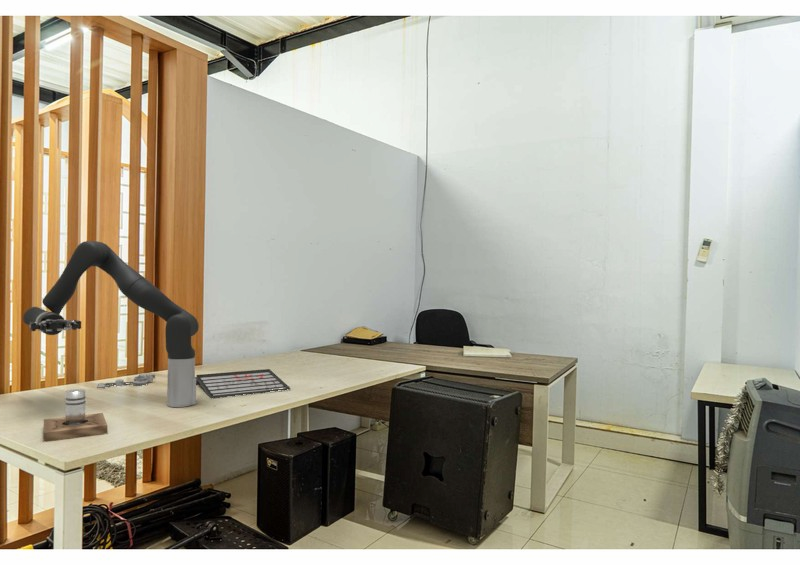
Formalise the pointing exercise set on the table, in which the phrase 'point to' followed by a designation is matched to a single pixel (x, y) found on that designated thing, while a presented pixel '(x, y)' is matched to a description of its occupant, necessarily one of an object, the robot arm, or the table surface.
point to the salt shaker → (75, 407)
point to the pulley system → (137, 381)
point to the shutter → (240, 383)
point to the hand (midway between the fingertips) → (60, 327)
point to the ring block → (74, 427)
